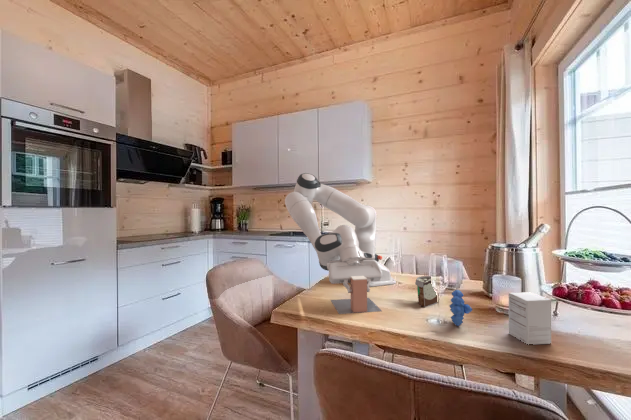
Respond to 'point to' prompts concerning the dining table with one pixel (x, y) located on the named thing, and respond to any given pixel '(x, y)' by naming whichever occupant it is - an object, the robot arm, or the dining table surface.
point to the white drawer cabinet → (530, 318)
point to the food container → (425, 291)
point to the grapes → (458, 307)
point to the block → (359, 294)
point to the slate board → (345, 306)
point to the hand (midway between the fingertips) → (359, 291)
